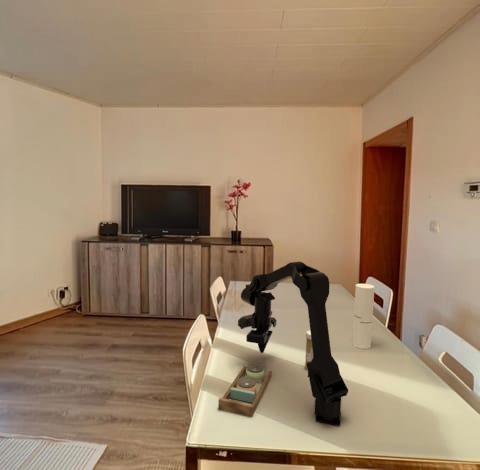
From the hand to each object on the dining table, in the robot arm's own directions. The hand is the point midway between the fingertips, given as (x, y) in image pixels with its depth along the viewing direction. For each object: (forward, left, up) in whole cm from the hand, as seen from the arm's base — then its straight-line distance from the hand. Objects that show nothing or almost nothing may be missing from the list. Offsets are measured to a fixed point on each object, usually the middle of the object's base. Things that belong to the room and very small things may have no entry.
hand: (261, 352), depth 125 cm
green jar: (0, +8, -6) cm, 10 cm away
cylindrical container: (-34, -32, -6) cm, 47 cm away
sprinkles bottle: (-17, -5, -6) cm, 19 cm away
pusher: (0, +21, -5) cm, 22 cm away
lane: (0, +16, -5) cm, 17 cm away
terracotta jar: (0, +17, -6) cm, 18 cm away
